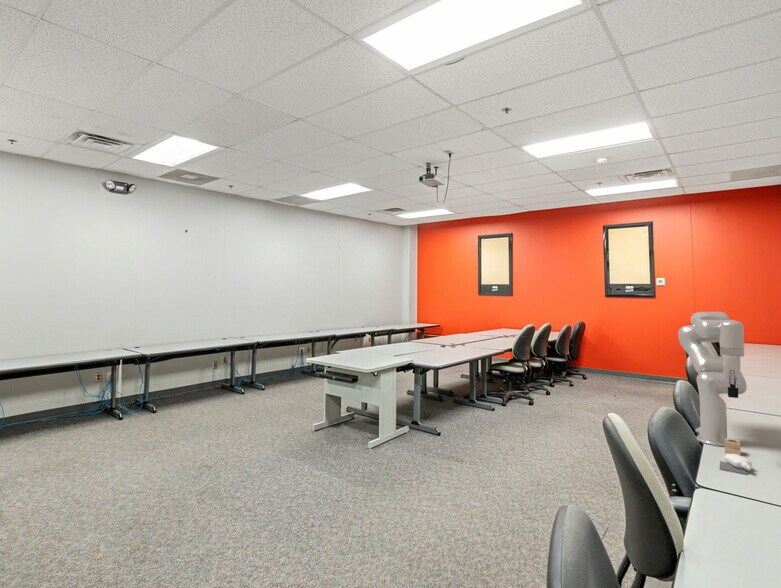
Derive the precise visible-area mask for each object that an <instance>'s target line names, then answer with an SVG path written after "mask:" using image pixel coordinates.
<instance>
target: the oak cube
mask: <svg viewBox="0 0 781 588" xmlns="http://www.w3.org/2000/svg"><path fill="white" fill-rule="evenodd" d="M726 453H729V454H737V455H740V456H742V455H741V440H738V439H732V438H727V439H726V438H725V446H724V454H726Z"/></svg>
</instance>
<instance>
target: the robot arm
mask: <svg viewBox="0 0 781 588" xmlns="http://www.w3.org/2000/svg"><path fill="white" fill-rule="evenodd" d="M744 329H745V328H744V324H743V322H740V321H737V320H735V319H730V317H729V316H728V314H727V313H725V312H723V311H698V312H695V313H693V314H692V315H691V317H690V325H684V326H681V327H680V328H679V329H678V331H677V337H678V341H679V343H680V346H681V347H682V348H683V350H684V352H686V353H687V355H688V356H689V359H690V361H691V364H692V365H693V368H694V370H695V372H696V373H697V376H696V384H697V388H698V389H697V390H698V398H699V417H700V419H699V420H700V421H699V422H700V423H699V424H700V425H699V426H698V427H697V428H695V432H697V433H698V435H696V440H697V441H698V442H701V443H703V444H706V445H710V446H716V447H725V438H726V439H728V421H727V420H728V418H727V403H726V401H725V400H724V399H723V398H722V397H721V396H720V395H721V394H722V395H723V394H724V395H727V397H728V398H734V399H739V395H742V394H744V393H745V392H746V391H747V387H748V385H747V382H746V379H745V377H744V375H743V373H742V371H741V357H745V335H744V333H745V331H744ZM718 342H719V352H720V353H719V355H712V354H711V352H710V350H709V349H708V348H707V347H706V346H705V345H703V344H701V343H718Z"/></svg>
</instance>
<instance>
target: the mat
mask: <svg viewBox="0 0 781 588" xmlns="http://www.w3.org/2000/svg"><path fill="white" fill-rule="evenodd" d="M720 469H723V470H722V471H724V470H727V471H726V472H729V471H731V472H730V473H734V472H735V473H736V474H740V475H745V476H748V470H745V469H740V468H737V467H735V466H733V465H731V464H730V463H728V462H726V461H722V460H721V461H719V470H720Z"/></svg>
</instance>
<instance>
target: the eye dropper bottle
mask: <svg viewBox="0 0 781 588" xmlns="http://www.w3.org/2000/svg"><path fill="white" fill-rule="evenodd" d="M740 455H741V454H740ZM740 455H737V454H725V455H724V462H727V463H730V464H731V465H733V466H735V467H737V468H740V469H745V470H747V472H748V471H751V470H752V469H753V467H752V461H751V460H749V459H747V458H745V457H743V456H742V455H741V456H740Z"/></svg>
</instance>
